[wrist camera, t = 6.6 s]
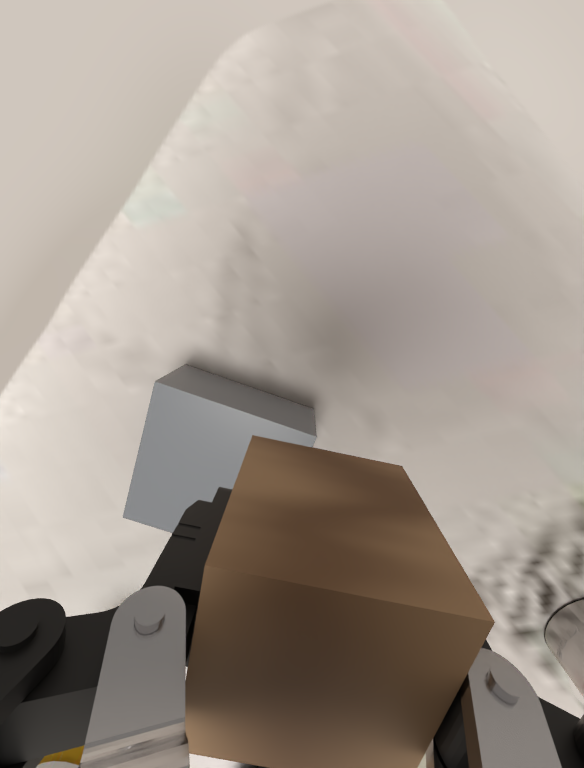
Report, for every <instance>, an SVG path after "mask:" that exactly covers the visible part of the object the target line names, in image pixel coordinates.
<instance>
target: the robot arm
mask: <svg viewBox="0 0 584 768" xmlns="http://www.w3.org/2000/svg"><path fill="white" fill-rule="evenodd" d="M232 490H233V489H228V488H223V487H219V488H218V490H217V492H216V494H215V497H214V499H213V501H212V502H207V501H202V500H197V501H196V502H195V503H194V504H192V505H191V506H190V507H188V508H187V509H186V510H185V512H184V514H183V515H182V517H181V519H180V521H179V523H178V525H177V526H176V528H175V530H174V532H173V533H172V536H171V537H170V539H169V541H168V542H167V544H166V546H165V548H164V550H163V551H162V553H161V555H160V557H159V559H158V560H157V562H156V564H155V566H154V568H153V570H152V571H151V573H150V575H149V577H148V579H147V580H146V582H145V584H144V585H143V587H142V588H141V589H140V590H139V591H137V592H135V593H133V594H132V595H130V596H129V597H128V598H127V599H126V600H124V602H123V603H122V604H121V605H120V606H118V607H116V608H113V609H111V610H107V611H104V612H99V613H92V614H85V615H78V616H71V617H66V616H65V611H64V609H63V607H62V606H61V605H60V604H59V603H57V602H56V601H53V600H51V599H45V598H37V599H30V600H26V601H22V602H20V603H17V604H14V605H12V606H10V607H8V608H6V609H4V610H2V611H1V612H0V768H36V767H37V766H38V764H39V763H40V762H41V760H42V759H43V758H44V756H47V755H50V754H54V753H58V752H62V751H65V750H69V749H73V748H76V747H80V746H84V750H83V754H82V758H81V761H80V765H79V767H78V768H190V764H189V743H188V738H187V736H186V731H185V666H186V667H188V663H189V657H190V651H191V645H192V639H193V633H194V627H195V621H196V615H197V609H198V603H199V597H200V591H201V585H202V579H203V573H204V567H205V563H206V561H207V558H208V555H209V552H210V550H211V547H212V544H213V542H214V539H215V536H216V533H217V531H218V528H219V525H220V522H221V520H222V517H223V514H224V512H225V509H226V506H227V503H228V501H229V498H230V495H231V492H232ZM545 639H546V643H547V645H548V647H549V649H550V650H551V652H552V653H553V654H554V656H555V657H556V659H557V660H558V661H559V663H560V664H561V666H562V667H563V669H564V670H565V671H566V673H567V674H568V676H569V677H570V678H571V680H572V681H573V683H574V684H575V686H576V687H577V688H578V690H579V691H580V693H581V694H582V696H583V697H584V599H583V600H580V601H576V602H574V603H572V604H570V605H567V606H566V607H564V608H563V609H561V610H560V611H559V612H558V613H556V614H555V615H554V616H553V617H552V619H551V620H550V622H549V623H548V625H547V628H546V632H545ZM426 768H584V715H583V716H582V718H581V719H579V718H578V717H576V716H574V715H572V714H570V713H568V712H566V711H564V710H562V709H560V708H558V707H556V706H555V705H553V704H551V703H549V702H547V701H545V700H543V699H541V698H539V697H538V696H537V694H536V693H535V691H534V689H533V688H532V686H531V685H530V683H529V682H528V681H527V679H526V678H525V677H524V676H523V674H522V673H521V672H520V671H519V670H518V669H517V668H516V667H515V666H514V665H513V664H511V663H510V662H509V661H508V660H506V659H505V658H504V657H502V656H501V655H499V654H497V653H495V652H493V651H492V650H491V648H490V646H489V644H488V642H487V640H485V642H484V644H483V645H482V647H481V649H480V651H479V653H478V655H477V657H476V659H475V660H474V662H473V664H472V666H471V668H470V670H469V672H468V674H467V676H466V677H465V679H464V681H463V683H462V685H461V687H460V689H459V691H458V692H457V694H456V696H455V698H454V700H453V702H452V704H451V706H450V707H449V709H448V711H447V713H446V715H445V717H444V719H443V721H442V723H441V724H440V726H439V728H438V730H437V732H436V734H435V736H434V738H433V739H432V741H431V743H430V745H429V747H428V749H427V751H426Z"/></svg>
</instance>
